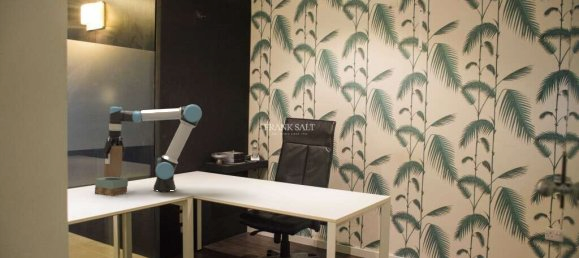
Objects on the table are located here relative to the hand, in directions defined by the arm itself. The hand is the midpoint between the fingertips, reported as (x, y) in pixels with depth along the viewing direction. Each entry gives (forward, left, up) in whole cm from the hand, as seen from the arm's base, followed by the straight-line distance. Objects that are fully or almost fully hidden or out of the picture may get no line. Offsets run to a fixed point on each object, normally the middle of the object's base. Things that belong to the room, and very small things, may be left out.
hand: (113, 162), depth 282 cm
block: (0, 0, -9) cm, 9 cm away
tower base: (0, +1, -21) cm, 21 cm away
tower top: (0, 0, -16) cm, 16 cm away
